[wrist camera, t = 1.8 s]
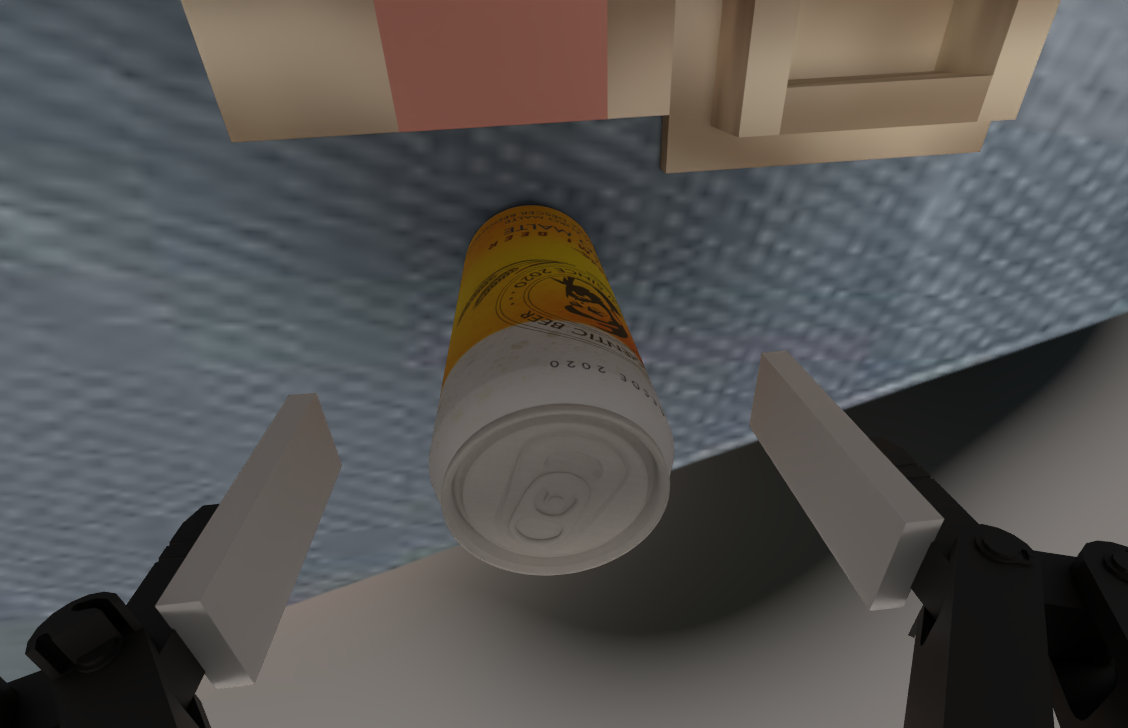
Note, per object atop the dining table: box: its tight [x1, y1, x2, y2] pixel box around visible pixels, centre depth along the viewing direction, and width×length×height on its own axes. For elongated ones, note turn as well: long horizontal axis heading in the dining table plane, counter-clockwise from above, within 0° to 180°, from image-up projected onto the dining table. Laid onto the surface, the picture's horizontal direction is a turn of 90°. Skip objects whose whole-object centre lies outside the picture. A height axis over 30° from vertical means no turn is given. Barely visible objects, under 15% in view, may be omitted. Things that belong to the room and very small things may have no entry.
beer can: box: [429, 205, 674, 575], centre depth 18 cm, size 6×6×15 cm
